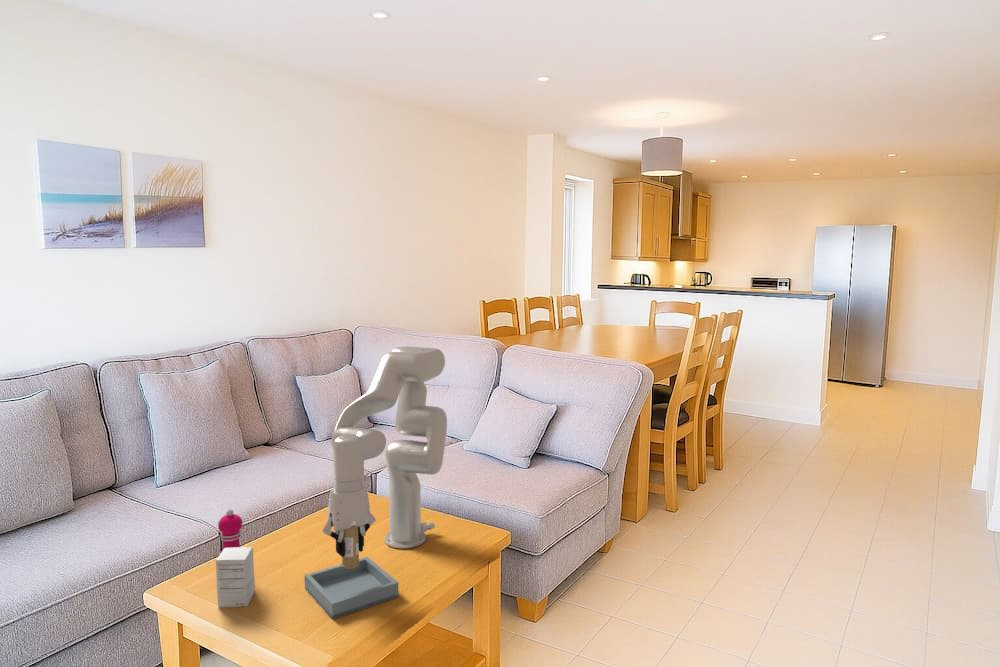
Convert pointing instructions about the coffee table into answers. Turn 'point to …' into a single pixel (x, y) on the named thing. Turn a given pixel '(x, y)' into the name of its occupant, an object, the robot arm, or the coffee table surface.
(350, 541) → the sprinkles bottle
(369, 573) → the tray
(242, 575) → the supplement box
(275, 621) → the coffee table surface
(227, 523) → the pepper mill
